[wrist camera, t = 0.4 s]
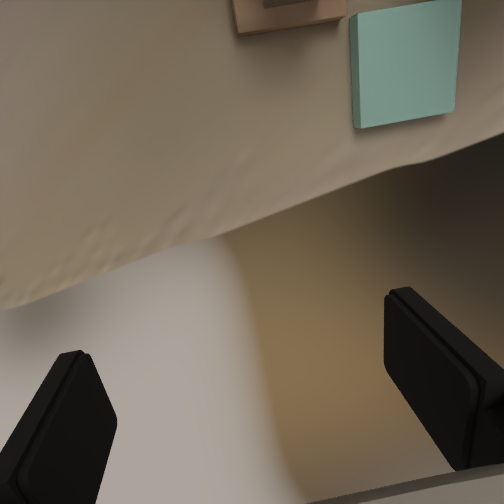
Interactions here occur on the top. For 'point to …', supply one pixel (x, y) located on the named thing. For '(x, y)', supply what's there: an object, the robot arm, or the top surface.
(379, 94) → the stand
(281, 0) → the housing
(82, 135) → the top surface
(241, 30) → the stand
